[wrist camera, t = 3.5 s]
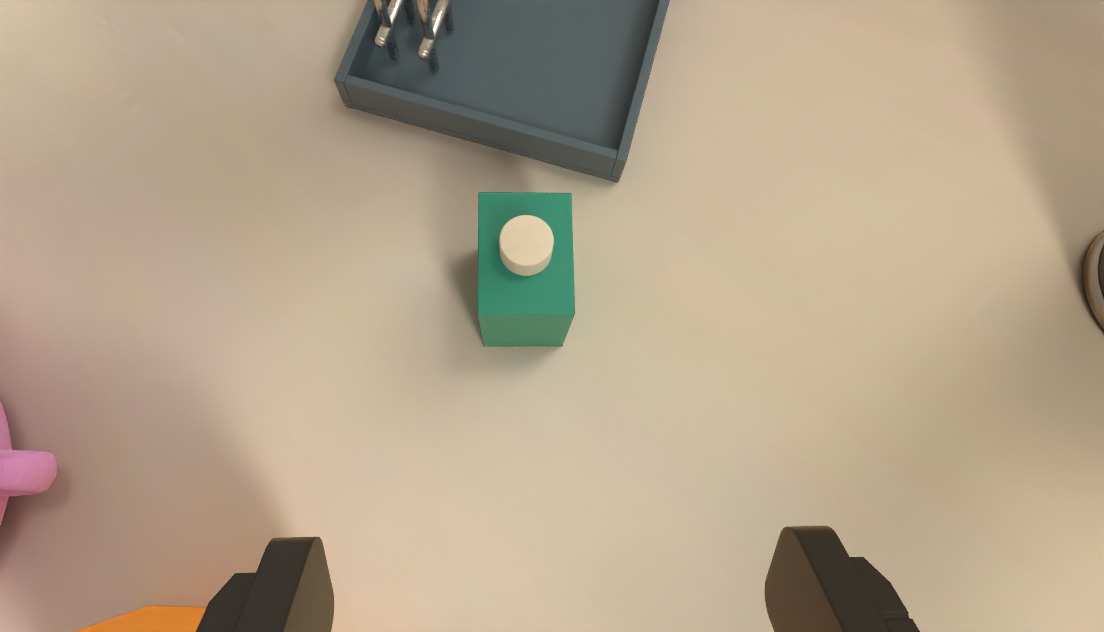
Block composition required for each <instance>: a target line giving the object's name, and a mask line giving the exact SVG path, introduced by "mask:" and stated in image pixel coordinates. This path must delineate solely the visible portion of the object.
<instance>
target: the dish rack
mask: <svg viewBox="0 0 1104 632" xmlns="http://www.w3.org/2000/svg"><path fill="white" fill-rule="evenodd" d="M374 2H375V6H376V9H377V13H378V16H379V20H380V23H381V26H380V28H379V31H378V33H377V36H376V38H375V44H376V46H377V47H378V48H385V47H386V46H387V48H388V52H389V55H390V58H391V60H392V61H398V60H399V59H400V54H399V50H398V46H397V42H396V38H395V35H394V31H393V29H394V27H395V25H396V22H397V20H398V17H399V15H400V12H401V10H402V7H403V6H404V10H405V15H406V18H407V20H408V21H411V22H412V21H414V20H415V18H416V15H415V10H414V5H413V0H391V2H390V4H389V7H387V3H386V0H374ZM417 5H418V10H419V15H420V20H421V26H422V31H423V36H424V37H423V39H422V42H421V44H420V47H419V50H418V57H419V58H420V59H421V60H427V59H428V62H429V67H430V70H431V71H432V72H434V73H435V72H438V71H439V69H440V66H439V60H438V54H437V49H436V43H435V42H436V39H437V37H438V34H439V31H440V29H441V26H442V24H443V21H444V25H445V29H446V31H447V32H453V31H454V29H455V26H454V17H453V9H452V1H451V0H438V1H437V3H436V6H435V9H434V11H433V14H432V16H431V13H430V7H429V1H428V0H417Z"/></svg>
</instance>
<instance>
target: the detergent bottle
mask: <svg viewBox="0 0 1104 632" xmlns="http://www.w3.org/2000/svg"><path fill="white" fill-rule="evenodd" d="M477 314H478V319H479V324H480V330H481V335H482V340H483V346H562V345H563V342H564V340H565V337H566V335H567V332H568V330H569V327H570V325H571V322H572V320H573V317H574V314H575V299H574V267H573V234H572V202H571V193H511V192H479V205H478V308H477Z"/></svg>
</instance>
